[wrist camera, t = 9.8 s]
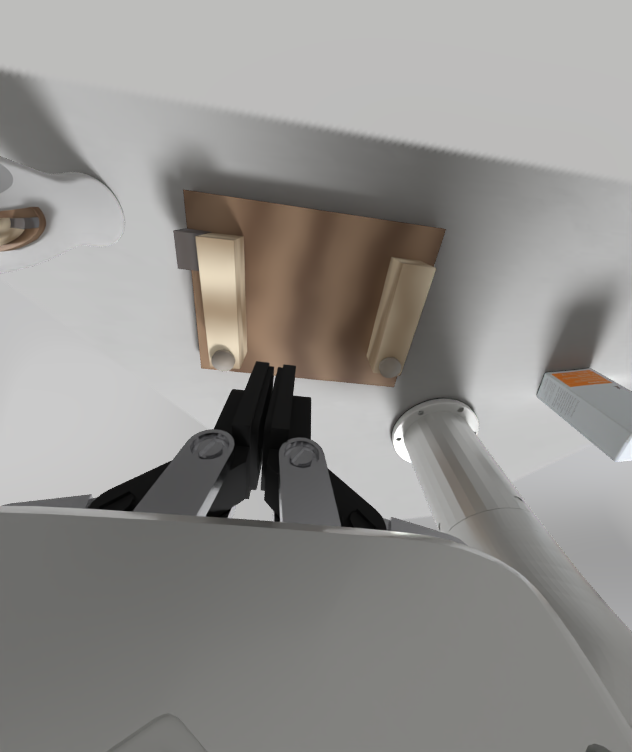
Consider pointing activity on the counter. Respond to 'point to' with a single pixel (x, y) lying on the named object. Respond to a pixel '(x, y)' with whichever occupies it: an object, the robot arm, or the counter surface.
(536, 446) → the counter surface
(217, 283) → the hinged leg
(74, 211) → the beer glass
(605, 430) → the skincare box
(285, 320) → the stool frame
